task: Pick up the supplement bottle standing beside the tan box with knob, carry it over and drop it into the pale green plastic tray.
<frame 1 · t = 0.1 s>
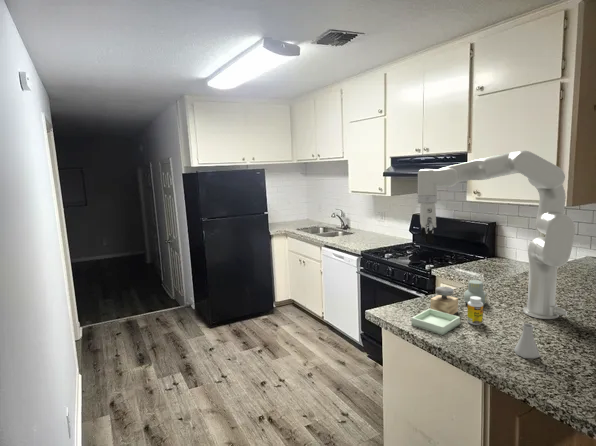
hand: (427, 240, 161), 31 cm above the counter, tool pointing down, fingers open, 9 cm apart
flask: (526, 354, 127), on the counter
tray: (435, 324, 153), on the counter
tan box with knob: (444, 311, 165), on the counter
supplement bottle: (474, 323, 153), on the counter
air freshener: (475, 303, 173), on the counter
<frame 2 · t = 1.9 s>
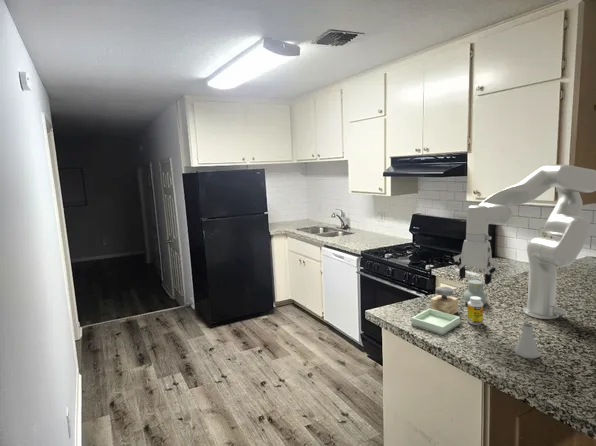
hand: (474, 281, 150), 17 cm above the counter, tool pointing down, fingers open, 9 cm apart
nothing on the counter moved.
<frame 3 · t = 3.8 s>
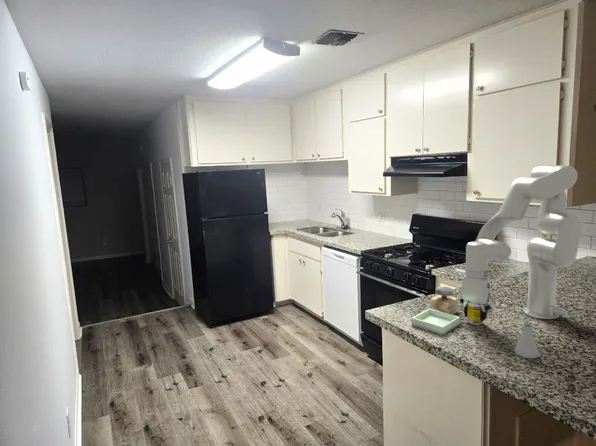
hand: (475, 317, 153), 2 cm above the counter, tool pointing down, fingers closed on supplement bottle, 5 cm apart
supplement bottle: (474, 323, 153), on the counter, touching gripper
everything else where it was.
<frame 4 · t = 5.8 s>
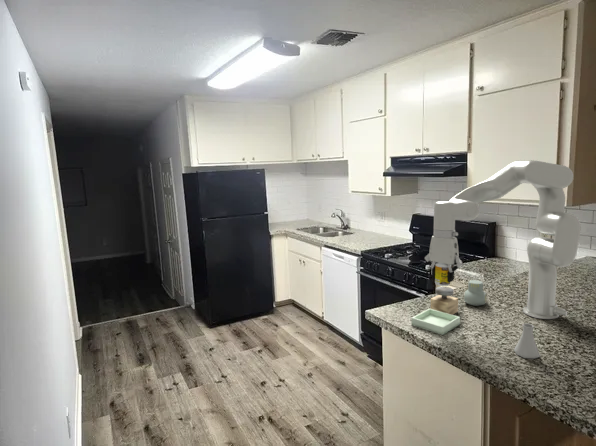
hand: (442, 279, 150), 18 cm above the counter, tool pointing down, fingers closed on supplement bottle, 5 cm apart
supplement bottle: (442, 284, 150), point 16 cm above the counter, touching gripper
everything else where it was.
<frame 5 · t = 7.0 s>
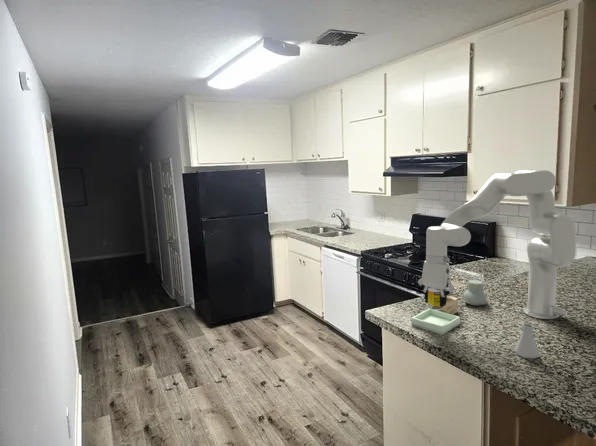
hand: (435, 303, 151), 9 cm above the counter, tool pointing down, fingers closed on supplement bottle, 5 cm apart
supplement bottle: (435, 308, 151), point 7 cm above the counter, touching gripper
everything else where it was.
when the fingers open (5 cm above the counter, at t = 7.8 s): supplement bottle drops 2 cm, resting on tray.
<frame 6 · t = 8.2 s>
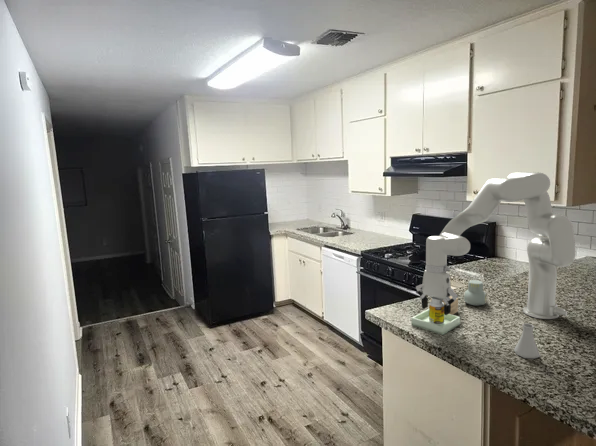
hand: (435, 310, 152), 6 cm above the counter, tool pointing down, fingers open, 9 cm apart
supplement bottle: (436, 323, 152), point 1 cm above the counter, touching tray
everything else where it was.
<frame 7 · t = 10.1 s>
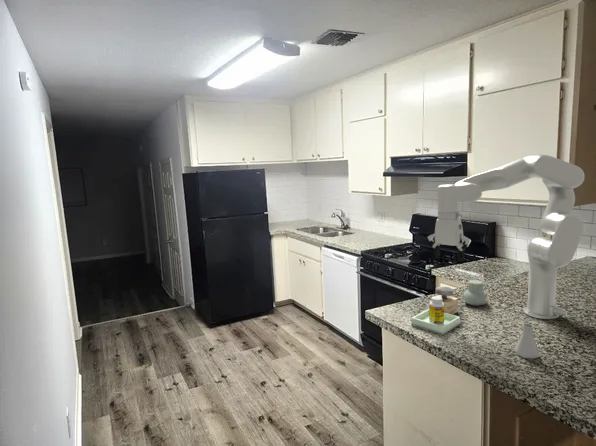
hand: (448, 258, 154), 25 cm above the counter, tool pointing down, fingers open, 9 cm apart
nothing on the counter moved.
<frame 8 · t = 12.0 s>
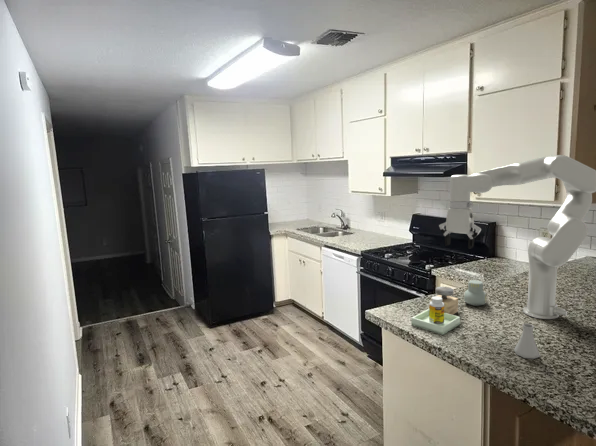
hand: (459, 246, 160), 28 cm above the counter, tool pointing down, fingers open, 9 cm apart
nothing on the counter moved.
at the end: supplement bottle inside the target area on the tray (0.3 cm from its centre), point 0.6 cm above the tray's base; supplement bottle tilted 0°; the gripper is holding nothing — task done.
